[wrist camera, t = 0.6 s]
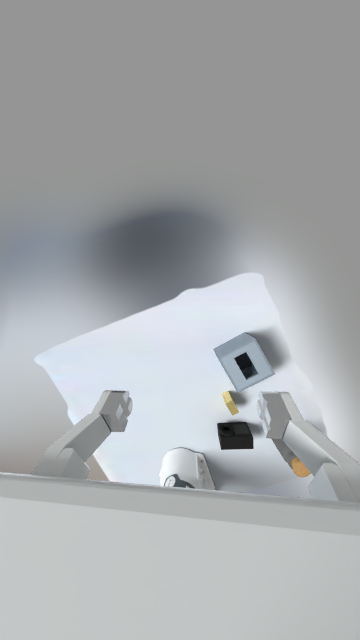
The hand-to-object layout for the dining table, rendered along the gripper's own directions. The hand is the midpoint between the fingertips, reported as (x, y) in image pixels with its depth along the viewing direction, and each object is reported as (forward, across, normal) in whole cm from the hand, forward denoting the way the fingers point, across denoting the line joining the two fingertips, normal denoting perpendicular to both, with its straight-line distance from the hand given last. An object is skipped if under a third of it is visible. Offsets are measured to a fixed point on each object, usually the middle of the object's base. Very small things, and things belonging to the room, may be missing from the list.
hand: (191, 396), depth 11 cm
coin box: (+40, +12, -33) cm, 53 cm away
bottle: (+30, +24, -58) cm, 70 cm away
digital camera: (+29, +9, -56) cm, 64 cm away
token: (+34, +8, -46) cm, 58 cm away
